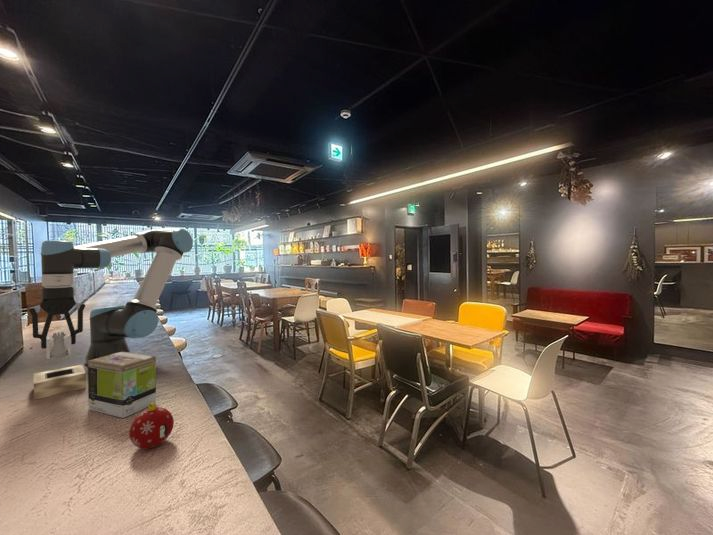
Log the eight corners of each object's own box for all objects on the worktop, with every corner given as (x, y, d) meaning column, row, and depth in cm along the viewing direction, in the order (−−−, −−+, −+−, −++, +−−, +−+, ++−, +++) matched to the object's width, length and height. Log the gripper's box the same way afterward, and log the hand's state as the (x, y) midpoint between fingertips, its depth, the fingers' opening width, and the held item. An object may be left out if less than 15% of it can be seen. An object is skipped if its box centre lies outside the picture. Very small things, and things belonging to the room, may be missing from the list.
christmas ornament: (162, 430, 76) (161, 392, 76) (181, 441, 71) (180, 400, 71) (122, 449, 68) (121, 406, 68) (140, 462, 64) (140, 416, 64)
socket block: (82, 378, 109) (82, 364, 109) (86, 387, 101) (85, 373, 101) (33, 388, 100) (33, 373, 100) (33, 399, 92) (33, 383, 92)
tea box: (157, 403, 90) (157, 355, 90) (122, 419, 81) (121, 366, 81) (123, 395, 95) (123, 349, 95) (86, 410, 86) (85, 359, 86)
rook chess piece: (56, 359, 97) (55, 334, 97) (45, 358, 98) (45, 334, 98) (71, 354, 102) (71, 331, 102) (61, 353, 103) (61, 331, 103)
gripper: (18, 289, 91) (19, 365, 91) (94, 286, 103) (94, 352, 104) (19, 287, 96) (20, 359, 96) (91, 284, 108) (92, 348, 109)
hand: (59, 355), depth 100 cm, fingers closed on rook chess piece, 4 cm apart
